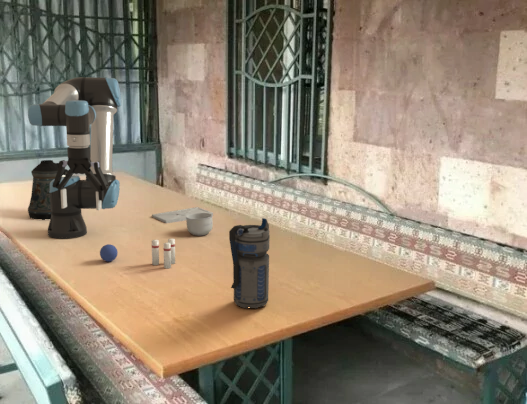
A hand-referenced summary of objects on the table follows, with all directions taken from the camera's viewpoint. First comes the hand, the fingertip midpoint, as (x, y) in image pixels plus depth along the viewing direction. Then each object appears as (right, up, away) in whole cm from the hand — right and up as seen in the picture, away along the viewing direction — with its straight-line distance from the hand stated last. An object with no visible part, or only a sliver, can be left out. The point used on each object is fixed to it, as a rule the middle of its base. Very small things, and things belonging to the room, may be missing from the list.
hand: (81, 208), depth 213 cm
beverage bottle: (+59, -28, -34) cm, 73 cm away
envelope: (+26, -5, +68) cm, 73 cm away
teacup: (+37, -11, +41) cm, 56 cm away
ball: (+9, -16, +2) cm, 18 cm away
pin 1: (+30, -20, -3) cm, 36 cm away
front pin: (+26, -19, 0) cm, 32 cm away
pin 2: (+31, -19, +2) cm, 36 cm away
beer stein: (-34, -4, +66) cm, 74 cm away
